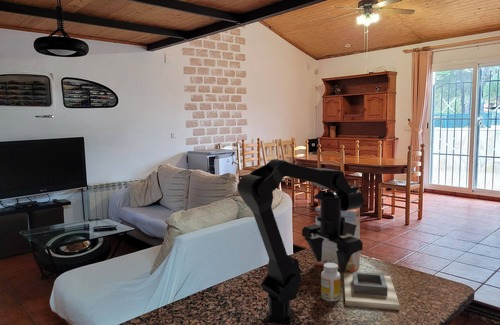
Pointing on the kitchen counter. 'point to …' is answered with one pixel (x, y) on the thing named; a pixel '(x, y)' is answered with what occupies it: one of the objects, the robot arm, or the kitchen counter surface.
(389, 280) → the collar board
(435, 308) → the kitchen counter surface
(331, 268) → the supplement bottle
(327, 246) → the cracker box
